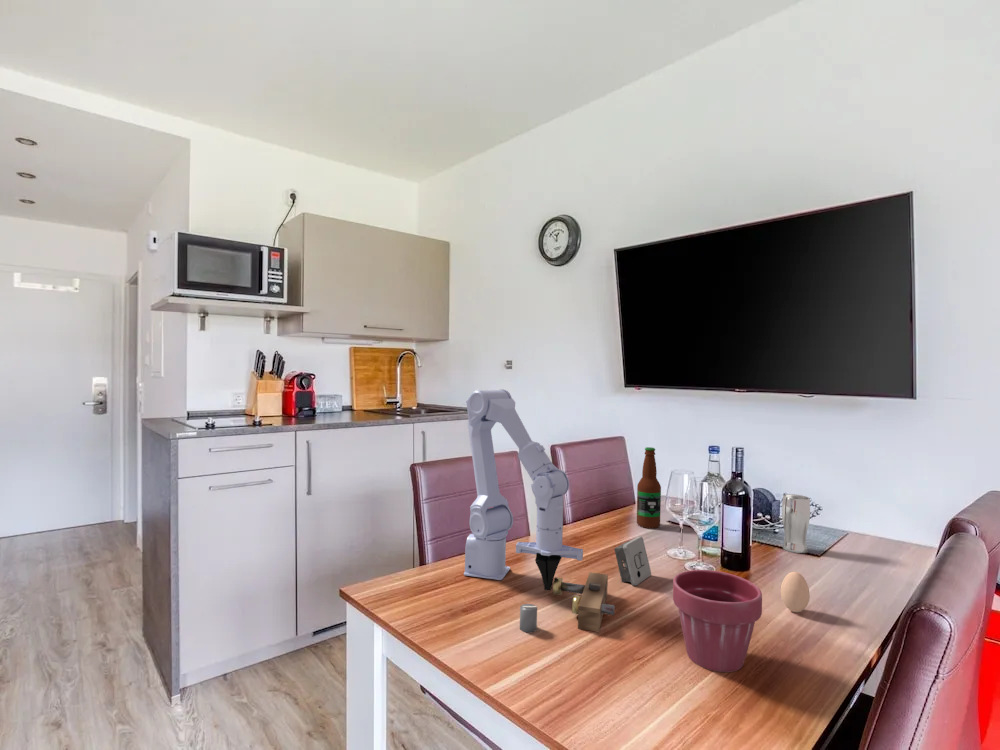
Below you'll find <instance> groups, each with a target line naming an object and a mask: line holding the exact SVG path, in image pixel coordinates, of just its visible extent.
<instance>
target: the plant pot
mask: <svg viewBox="0 0 1000 750" xmlns="http://www.w3.org/2000/svg"><path fill="white" fill-rule="evenodd" d="M672 600H673V603H674V605H675V606H676V607H677V608H678V612H679V618H680V624H681V630H682V635H683V640H684V644H685V649H686V655H687V656H688V658H689V659H690V660H691V661H692V662H693V663H694V664H696V665H697V666H699V667H702V668H703V669H707V670H709V671H713V672H718V673H719V672H720V673H732V672H736V671H739V670H740V669H742V668H743V667H744V663H745V660H746V656H747V653H748V650H749V646H750V642H751V639H752V635H753V631H754V627H755V624H756V622H758V621H759V620H760V619H761V617H762V614H763V612H762V611H763V594H762V590H761V589H760V588H759V586H757V585H756V584H755V583H753V582H752V581H750V580H748V579H746V578H744V577H741V576H738V575H735V574H733V573H732V574H731V573H729V572H723V571H717V570H709V569H691V570H686V571H682V572H679V573H678V574H676V575H675V576H674V578H673V580H672Z"/></svg>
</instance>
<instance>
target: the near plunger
mask: <svg viewBox="0 0 1000 750" xmlns="http://www.w3.org/2000/svg"><path fill="white" fill-rule="evenodd" d="M581 597H582V595H575V594H574V595H573V596H572V605H571V606H572V607H571V610H572V612H571V613H572V614H575V615H578V606H579V603H580V600H581ZM615 607H616V606H615V604H608V603H605V604H602V605H601V613H603V615H610V616H611V615H612V616H614V615H615V609H616V608H615Z"/></svg>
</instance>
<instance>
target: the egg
mask: <svg viewBox="0 0 1000 750" xmlns="http://www.w3.org/2000/svg"><path fill="white" fill-rule="evenodd" d="M810 592H811V591H810V589H809V585H808V583H807V580H806V578H805V577H804V575H802V574H801V573H799V572H797V571H790V572H789V573H787V574H786V576H785V577H784V578H783V580H782V583H781V586H780V598H781V601H782V603H783V604H784V606H785V607H786V608H787V609H788V610H789V611H791V612H793V613H800V612H803V611H805V609H806V608H807V607H808V605H809V603H810V598H811V597H810V596H811V595H810Z"/></svg>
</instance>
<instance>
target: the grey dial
mask: <svg viewBox="0 0 1000 750" xmlns="http://www.w3.org/2000/svg"><path fill="white" fill-rule="evenodd" d="M519 610H520V611H519V630H520V631H521V632H523V633H529V634H530V633H535V632H537V626H538V624H537V623H538V606H537V605H535V604H531V603H525V604H524V603H523V604H522V605H520V607H519Z"/></svg>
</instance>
